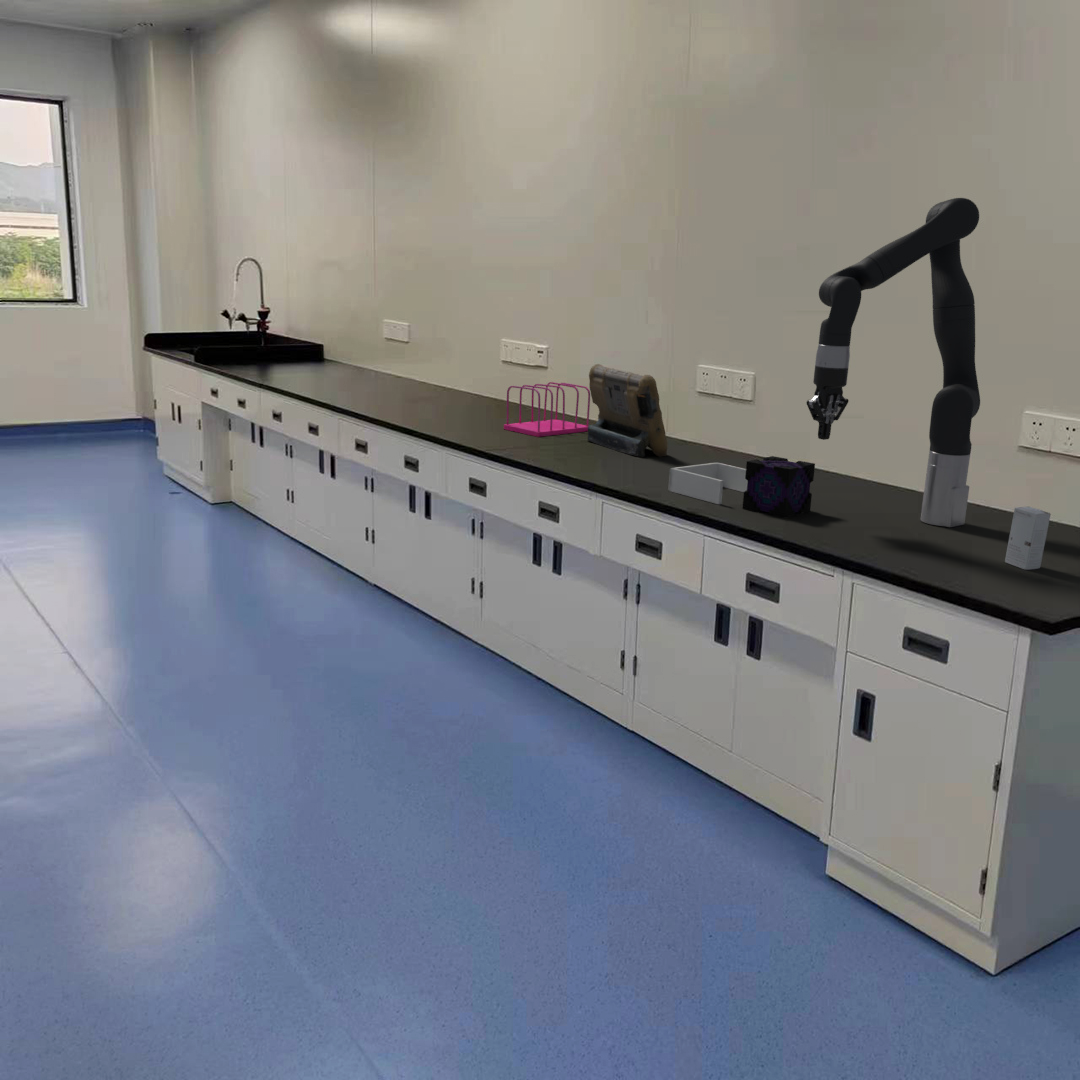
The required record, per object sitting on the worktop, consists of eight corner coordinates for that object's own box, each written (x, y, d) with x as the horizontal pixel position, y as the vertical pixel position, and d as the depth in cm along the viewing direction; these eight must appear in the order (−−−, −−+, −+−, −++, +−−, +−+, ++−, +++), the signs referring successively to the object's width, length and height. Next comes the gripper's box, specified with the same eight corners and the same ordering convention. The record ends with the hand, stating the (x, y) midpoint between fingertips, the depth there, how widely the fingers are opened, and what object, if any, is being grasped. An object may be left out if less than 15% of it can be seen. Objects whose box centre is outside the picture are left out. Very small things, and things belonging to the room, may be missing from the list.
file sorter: (503, 429, 379) (504, 383, 375) (556, 424, 395) (558, 379, 391) (538, 437, 366) (540, 389, 362) (591, 431, 383) (593, 385, 379)
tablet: (676, 455, 344) (681, 374, 337) (641, 459, 336) (646, 375, 330) (610, 438, 370) (615, 362, 363) (577, 441, 362) (580, 363, 356)
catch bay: (766, 497, 290) (768, 474, 289) (718, 504, 279) (720, 481, 278) (715, 484, 304) (717, 462, 302) (668, 490, 293) (669, 468, 291)
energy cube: (785, 518, 268) (789, 469, 265) (742, 509, 276) (746, 461, 273) (810, 511, 277) (815, 463, 274) (768, 502, 285) (772, 456, 282)
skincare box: (1003, 562, 236) (1012, 506, 233) (1019, 561, 238) (1027, 505, 235) (1026, 570, 231) (1035, 513, 228) (1042, 568, 233) (1051, 512, 230)
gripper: (826, 367, 251) (818, 443, 256) (863, 365, 259) (854, 439, 264) (800, 363, 257) (792, 438, 261) (836, 362, 265) (828, 434, 269)
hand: (823, 438), depth 262 cm, fingers closed
